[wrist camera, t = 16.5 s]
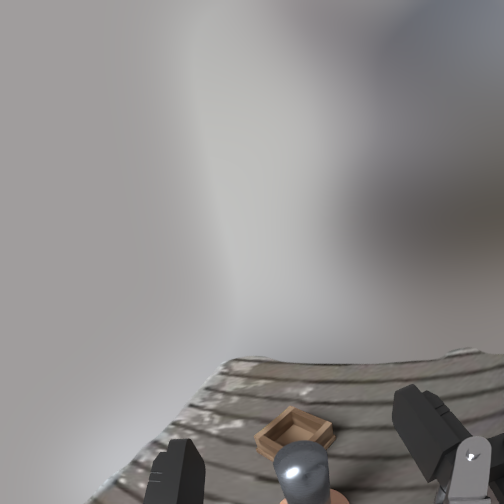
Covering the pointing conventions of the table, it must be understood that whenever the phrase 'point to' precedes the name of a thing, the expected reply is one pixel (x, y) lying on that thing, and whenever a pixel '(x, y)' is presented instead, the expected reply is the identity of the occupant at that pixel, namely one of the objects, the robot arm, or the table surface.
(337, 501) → the pad
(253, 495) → the table surface
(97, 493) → the table surface
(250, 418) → the table surface
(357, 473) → the table surface
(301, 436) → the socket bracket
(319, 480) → the rod
